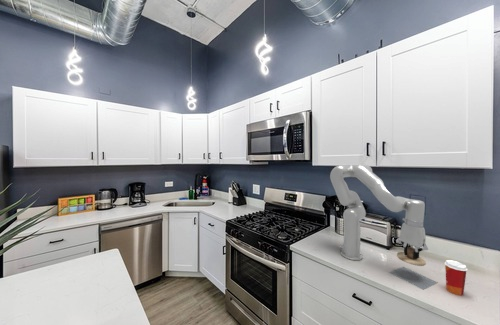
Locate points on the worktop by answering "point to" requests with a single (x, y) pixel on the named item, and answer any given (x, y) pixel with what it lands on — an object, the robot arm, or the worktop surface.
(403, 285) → the worktop surface
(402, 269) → the grey mat
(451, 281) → the paper cup
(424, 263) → the oak lid
